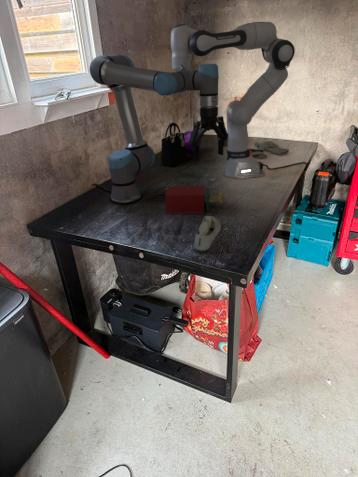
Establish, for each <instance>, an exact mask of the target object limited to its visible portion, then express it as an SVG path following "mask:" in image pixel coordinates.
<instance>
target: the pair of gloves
mask: <svg viewBox="0 0 358 477" xmlns="http://www.w3.org/2000/svg"><path fill="white" fill-rule="evenodd" d="M254 147H255V148H252V147H247V149H249V150H251V151H252V152H253V154H252V155H250V156H252V157H253V158H254V159H255V158H257V157H263V158H268V155H267V154H266V153H264V152H265V151H266V152H269V153H273V154H275V155H278V156H283V155H286V154H288V153H289V152H290V149H289V148H282V147H280V145H278V144H277V143H275V142H273V141H271V140H268V141H263V142H261V143H259V142H258V141H256V142H255V143H254Z"/></svg>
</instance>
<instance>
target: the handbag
mask: <svg viewBox="0 0 358 477" xmlns="http://www.w3.org/2000/svg"><path fill="white" fill-rule="evenodd" d="M172 129H173V132H172ZM176 130H177V131H178V132H176ZM168 132H169V136H168ZM184 133H185V132H181V129H180V127H179V125H178V124H177V123H176V122H171V123H169V125H168V126H167V127H166V130H165V135H164V136H163V137H162V138H161V150H160V152H161V153H160V155H161V156H160V164H161V165H162V166H165V167H174V166H176V165H178V164H180V163H181V162H184V161H186V160H187V159H188V153H187V152H186V145H185V138H184Z"/></svg>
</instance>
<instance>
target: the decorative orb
mask: <svg viewBox="0 0 358 477" xmlns="http://www.w3.org/2000/svg"><path fill="white" fill-rule="evenodd" d="M192 131H193V130H187V131H185V132H183V133H184V138H185V145H186V152H187V154H194V153H193V146H192V145H189V144H188V143H189V140H190V137H191V134H192ZM201 145H202V139H201V140H200V142H199V144H198V145H197V146H199V149H200V147H201Z"/></svg>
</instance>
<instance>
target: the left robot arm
mask: <svg viewBox="0 0 358 477" xmlns="http://www.w3.org/2000/svg"><path fill="white" fill-rule="evenodd" d="M89 74H90V76H91V78H92V80H93V81H94V82H95V83H97V84H98V85H103V86H108V88H109V90H110V91H111V92H113V95H114V99H115V102H116V107H117V110H118V115H119V119H120V121H121V126H122V129H123V134H124V137H125V141H126V145H125V146H124V149H119V150H116V151H113V152H111V153H110V154H109V155H108V159H107V160H108V168H109V174H110V179H111V189H108V188H107V187H104V186H103V185H100V184H98V183H96V182H94V183H95V184H93V183H92V184H91V186H94V185H95V186H97V187H99V188H101V189H102V190H105V191H107V192H110V202H112V203H113V204H117V205H129V204H133V203H136V202H138V201H140V200H141V198H142V194H141V191H140V189H139V187H138V185H137V182H136V175H137V174H140V173H141V172H144V171H147V170H149V169H150V168H152V166H153V165H154V164H155V161H156V153H155V150H154V149H153V148H152V146H150V145H149V144H148V141H146V140H145V139H144V135H143V130H142V128H141V124H140V119H139V115H138V110H137V107H136V102H135V98H134V93H133V88H134V89H138V90H145V91H148V92H149V91H151V92H155V93H157V94H158V95H159V96H163V97H165V96H172V95H174V94H178V93H180V92H183V91H185V92H187V91H197V92H198V91H199V106H200V107H199V117H200V120H194V122H193V128H192V130H191V131H192V134H191V137H190V140H189V143H188V144H189V145H192V146H193V153H192V154H193V161H195V162H200V148H199V146H197V145H198V144H199V142H200V140H201V141H202V139H203V137H204V135H205V133H207V132H209V131H214V133H215V134H216V136H217V135H218V137H219V138H220V139H218V141H217V154H218V155H220V156H224V147H225V145H224V140H226V138H228V132H227V127H226V125H224V124H225V122H224V123H223V119H224V116H223V117H221V115H219V107H218V105H219V77H220V76H219V66H218V64H217V63H203V64H199V66H198V69H188V70H177V71H175V70H174V71H171V72H166V71H162V70H157V69H156V70H155V69H149V68H148V69H147V68H143V67H136V66H135V64H134V62H133V60H132V59H131V58H130V57H129V56H128V55H126V54H120V53H116V54H103V55H98V56H96V57H94V58H93V59H92V60H91V62H90V65H89ZM217 122H218V124H217ZM218 125H219V127H218ZM219 128H220V130H221V131H220V130H219Z"/></svg>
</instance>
